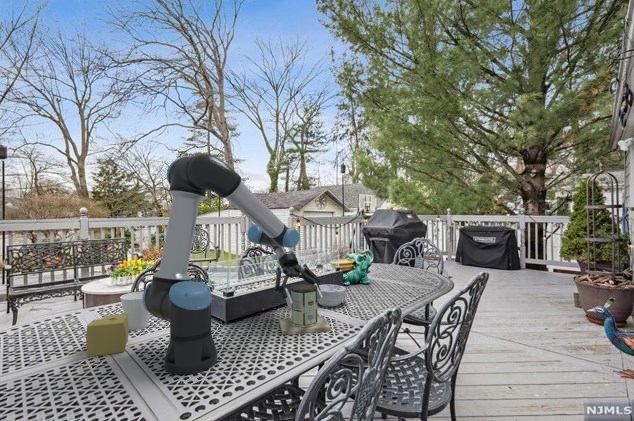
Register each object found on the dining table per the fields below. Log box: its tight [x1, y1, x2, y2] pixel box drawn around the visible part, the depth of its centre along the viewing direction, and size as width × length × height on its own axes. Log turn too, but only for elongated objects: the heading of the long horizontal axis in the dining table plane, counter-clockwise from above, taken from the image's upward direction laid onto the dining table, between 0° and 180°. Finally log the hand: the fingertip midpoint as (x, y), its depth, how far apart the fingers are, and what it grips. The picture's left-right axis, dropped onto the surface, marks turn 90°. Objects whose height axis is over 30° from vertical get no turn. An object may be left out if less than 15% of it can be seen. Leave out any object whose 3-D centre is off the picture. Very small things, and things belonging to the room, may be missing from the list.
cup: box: [119, 291, 151, 331], centre depth 133 cm, size 12×12×12 cm
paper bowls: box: [317, 284, 347, 308], centre depth 163 cm, size 15×15×8 cm
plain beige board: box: [278, 315, 332, 336], centre depth 133 cm, size 18×13×2 cm
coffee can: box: [290, 283, 318, 327], centre depth 133 cm, size 10×10×14 cm
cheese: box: [85, 313, 129, 358], centre depth 113 cm, size 10×11×10 cm
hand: (306, 302), depth 132 cm, fingers open, 13 cm apart
